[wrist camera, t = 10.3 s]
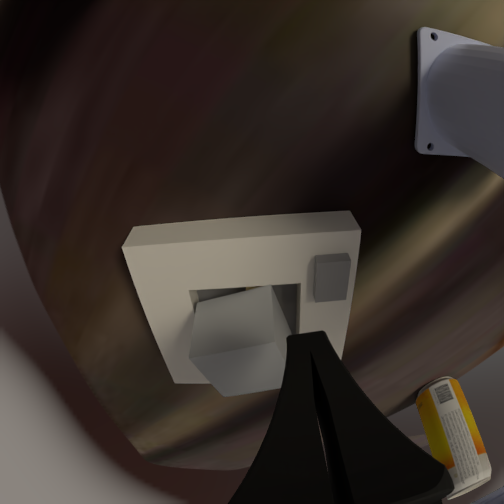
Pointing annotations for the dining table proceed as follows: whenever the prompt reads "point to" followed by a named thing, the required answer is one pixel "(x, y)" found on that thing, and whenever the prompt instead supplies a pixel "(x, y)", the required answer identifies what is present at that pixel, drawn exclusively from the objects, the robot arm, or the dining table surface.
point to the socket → (244, 274)
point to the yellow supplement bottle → (453, 434)
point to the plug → (241, 341)
